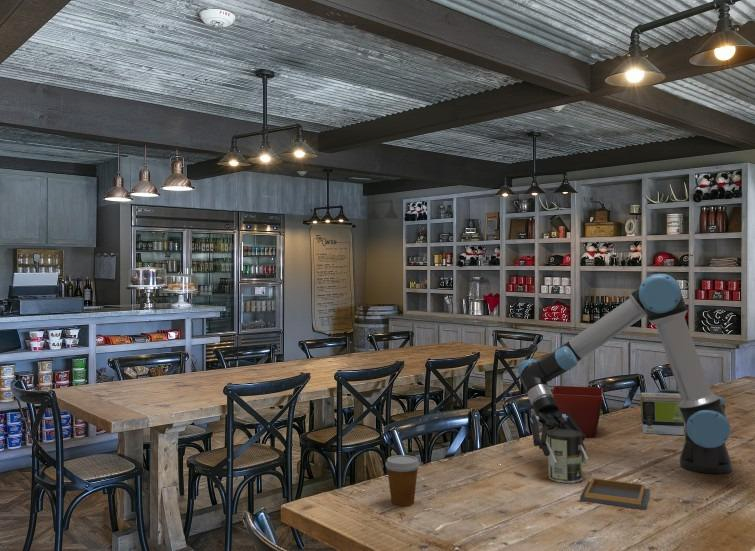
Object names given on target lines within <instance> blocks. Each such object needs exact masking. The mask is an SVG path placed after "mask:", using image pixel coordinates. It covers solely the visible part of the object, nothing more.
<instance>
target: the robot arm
mask: <svg viewBox="0 0 755 551" xmlns="http://www.w3.org/2000/svg"><path fill="white" fill-rule="evenodd" d="M687 312H688V307H687V305H686V301H685V299H684V297H683V293H682V289H681V286H680V284H679V283H678V281H677V280H676V279H675V278H674V277H673V276H671V275H668V274H665V273H654V274H652V275H649V276H647V277H646V278H645V279H643V280H642V282H641V284H640V286H639V287H638V288H637V289H635V290H634V291H633V292H631V293H630V294H629V298H628V299H627V300H625V301H624V302H622V303H620V304H619V305H618V306H617V307H616V308H613V309H612V310H611V311H609V312H608V313H607V314H605V315H604V316H602V317H601V318H599V319H598V320H596V321H595V322H594V323H592V324H590V326H588V327H586V328H585V329H584V330H582V331H581V332H579V333H578V334H577V335H576V336H574V337H572V338H571V339H569V340H568V341H567V342H565V343H564V344H562V345H561V346H558V347H557V348H556V349H555V350H554V351H553V352H551V353H550V354H548V355H546V356H545V357H542V358H541V359H540V360H538V361H537V360H536V359H534V358H528V359H524V360H522V361H520V363H519V364H518V366H517V368H516V369H517V373H518V375H519V380H520V381H521V383H522V385H523V387H524V390H525V392H526V394H527V397H528V399H529V402H530V403H531V404H530V405H531V406H532V409H533V411H534V414H535V415H534V414H532V415H531V417H530V419H529V423H530V425H531V430H532V431H531V432H532V439H533V440H532V441H533V446H534V447H538V448H539V449H540V450H542V453H543V455H544V456H545V457H547V460H548V459H549V462H550V464H551V466H552V467H554V466H555V465H556V463H557V461H556V458H555V456H554V454H553V451H552V449H551V447H550V444H549V443H548V442H547V441H548V435H547V432H548V431H549V429H552V428H553V429H554V428H555V429H569V430H575V431H578V432H581V433H582V437H581V442H582V443H581V446H582V465H583V464H586V463H587V461H589V458H588V455H587V453H586V447H585V445H584V441H585V439H587V437H586V436H585V434H584V433H583V432H582V430H581V429H580V428H579V427H578V425H577V424H576V423H575V422H574V420H573V419H572V417H571V415H570V413H568V412H567V413H566V414H561V413H560V412H559V410H558V406H557V403H556V401H555V399H554V398H553V394H552V392H551V391H552V390H551V389H550V386H549V385H548V382H551V381H552V380H554V379H556V378H557V377H559V376H561V375H564V373H566V372H568V371H569V372H570V371H571V370H572V369H573V368H575V367H576V366H577V365H578V363H579V362H580V361H581V360H582V359H584V358H586V356H588V355H589V354H591V353H592V352H594V351H596V350H597V349H599V348H600V347H601V346H604V344H606V343H608V342H609V341H610V340H612V339H613V338H615V337H617V336H618V335H619V334H621V333H623V332H624V331H625V330H626V329H628V328H629V327H631V326H633V325H634V324H635V323H637V322H638V321H640V320H641V319H643V318H647V320H648V322H649V323H651V324H652V325H654V326H656V330H657V332H658V336H659V338H660V341H661V344H662V347H663V350H664V352H665V355H666V358H667V361H668V363H669V367H670V369H671V372H672V375H673V378H674V380H675V384H676V386H677V389H678V390H679V392H680V395H681V398H682V400H681V402H680V404H679V408H680V411H681V414H682V417H683V419H684V436H685V438H684V440H685V441H684V444H683V447H682V449H681V453H680V454H679V466H681V467H682V468H683V469H686V470H689V471H693V472H696V473H702V474H703V473H704V474H716V475H717V474H727V473H730V472H732V471H733V470H732V469H733V465H732V464H733V463H732V460H731V456H730V455H729V452H728V448H727V446H726V442H727V440H728V439H729V437H730V433H731V425H730V422H729V420H728V418H727V415H726V406H727V405H726V401H725V399H724V398H723V397H721V396H718V395H717V394H715V393H713V392H712V390H711V388H710V385H709V382H708V380H707V376H706V373H705V371H704V368H703V365H702V362H701V359H700V356H699V354H698V351H697V348H696V346H695V345H696V344H695V342H694V340H693V336H692V334H691V331H690V329H689V326H688V324H687V321H686V318H685V316H686V314H687ZM563 419H564V420H563ZM539 423H540V424H542V426H541V435H540V429H539ZM560 423H561V425H560Z"/></svg>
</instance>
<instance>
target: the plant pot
mask: <svg viewBox="0 0 755 551" xmlns="http://www.w3.org/2000/svg"><path fill="white" fill-rule="evenodd" d="M603 391H604V388H603V387H601V386H600V387H596V386H572V385H571V386H570V385H553V388H552V390H551V392H552V394H553V398H554V399H555V401H556V403H557V406H558V410H559V412H560V413H561V414H566V413H567V412H568V413H570V415H571V417H572V419H573V420H574V422H575V423H576V424H577V425H578V427H579V428H580V429H581V430H582V432H583V433H584V434H585V436H588V438H595V436H596V434H597V430H598V426H599V421H600V417H601V411H602V402H603V393H604V392H603ZM563 420H564V419H563ZM560 425H561V423H560Z"/></svg>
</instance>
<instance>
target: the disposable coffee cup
mask: <svg viewBox="0 0 755 551" xmlns="http://www.w3.org/2000/svg"><path fill="white" fill-rule="evenodd" d="M385 467H386V470H387V477H388V486H389V493H390V500H391V504H392V505H395V506H399V507H408V506H411V505H414V503H415V496H416V486H417V478H418V469H419V467H420V462H419V459H418V458H417V457H416V456H414V455H413V456H412V455H405V454H399V455H398V454H397V455H393V456H392V455H391V456H389V457H387V459H386V462H385Z"/></svg>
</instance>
